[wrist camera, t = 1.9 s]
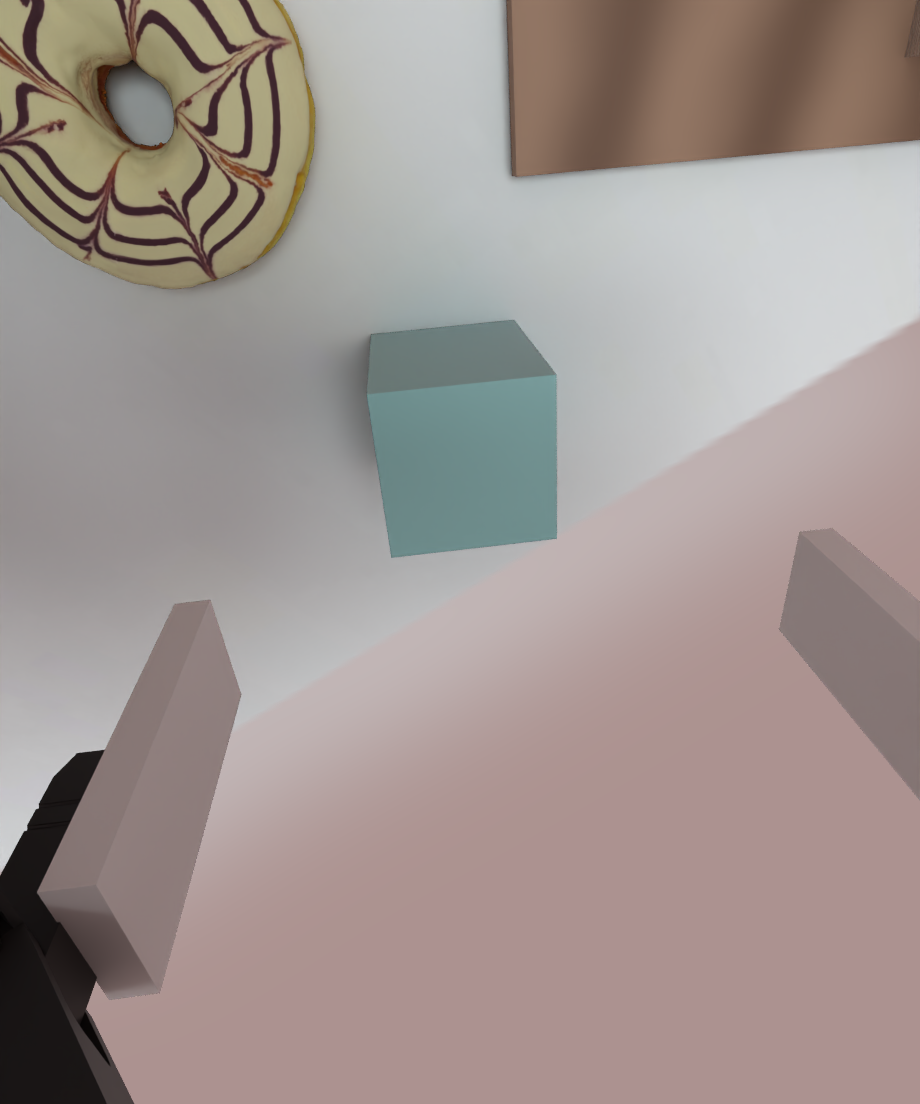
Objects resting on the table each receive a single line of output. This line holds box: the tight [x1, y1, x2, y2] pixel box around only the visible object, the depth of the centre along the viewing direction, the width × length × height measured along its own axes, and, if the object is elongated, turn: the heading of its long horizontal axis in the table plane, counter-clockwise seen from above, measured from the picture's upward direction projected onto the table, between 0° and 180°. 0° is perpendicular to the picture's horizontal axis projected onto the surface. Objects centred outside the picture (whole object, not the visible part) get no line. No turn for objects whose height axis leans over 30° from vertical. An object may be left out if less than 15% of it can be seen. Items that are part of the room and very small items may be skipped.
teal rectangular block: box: [367, 320, 557, 558], centre depth 25 cm, size 6×6×8 cm
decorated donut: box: [0, 0, 315, 289], centre depth 21 cm, size 10×11×4 cm
